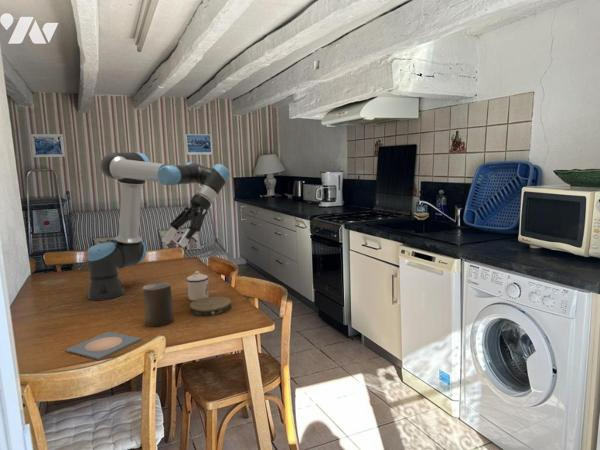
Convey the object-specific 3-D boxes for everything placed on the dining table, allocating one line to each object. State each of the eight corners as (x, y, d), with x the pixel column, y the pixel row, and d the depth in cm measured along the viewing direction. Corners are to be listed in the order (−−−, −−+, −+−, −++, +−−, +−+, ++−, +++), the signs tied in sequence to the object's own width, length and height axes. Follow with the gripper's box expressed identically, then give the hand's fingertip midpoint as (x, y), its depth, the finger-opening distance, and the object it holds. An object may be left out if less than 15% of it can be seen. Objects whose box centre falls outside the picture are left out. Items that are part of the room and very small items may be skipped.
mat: (65, 351, 135) (64, 349, 135) (108, 333, 149) (108, 331, 149) (98, 360, 128) (98, 358, 128) (141, 340, 142) (141, 338, 142)
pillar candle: (168, 326, 153) (165, 285, 151) (141, 327, 153) (138, 286, 151) (177, 317, 163) (173, 278, 161) (151, 318, 163) (148, 279, 161)
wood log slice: (187, 307, 174) (186, 300, 173) (226, 301, 180) (225, 294, 180) (194, 320, 159) (193, 312, 159) (236, 312, 165) (235, 305, 165)
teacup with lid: (211, 299, 183) (209, 272, 181) (189, 302, 180) (187, 275, 178) (207, 291, 194) (205, 266, 192) (186, 294, 191) (184, 269, 189)
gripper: (181, 193, 176) (151, 235, 168) (213, 193, 157) (180, 241, 150) (194, 204, 180) (166, 246, 173) (227, 205, 162) (196, 253, 154)
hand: (172, 244), depth 161 cm, fingers open, 13 cm apart
